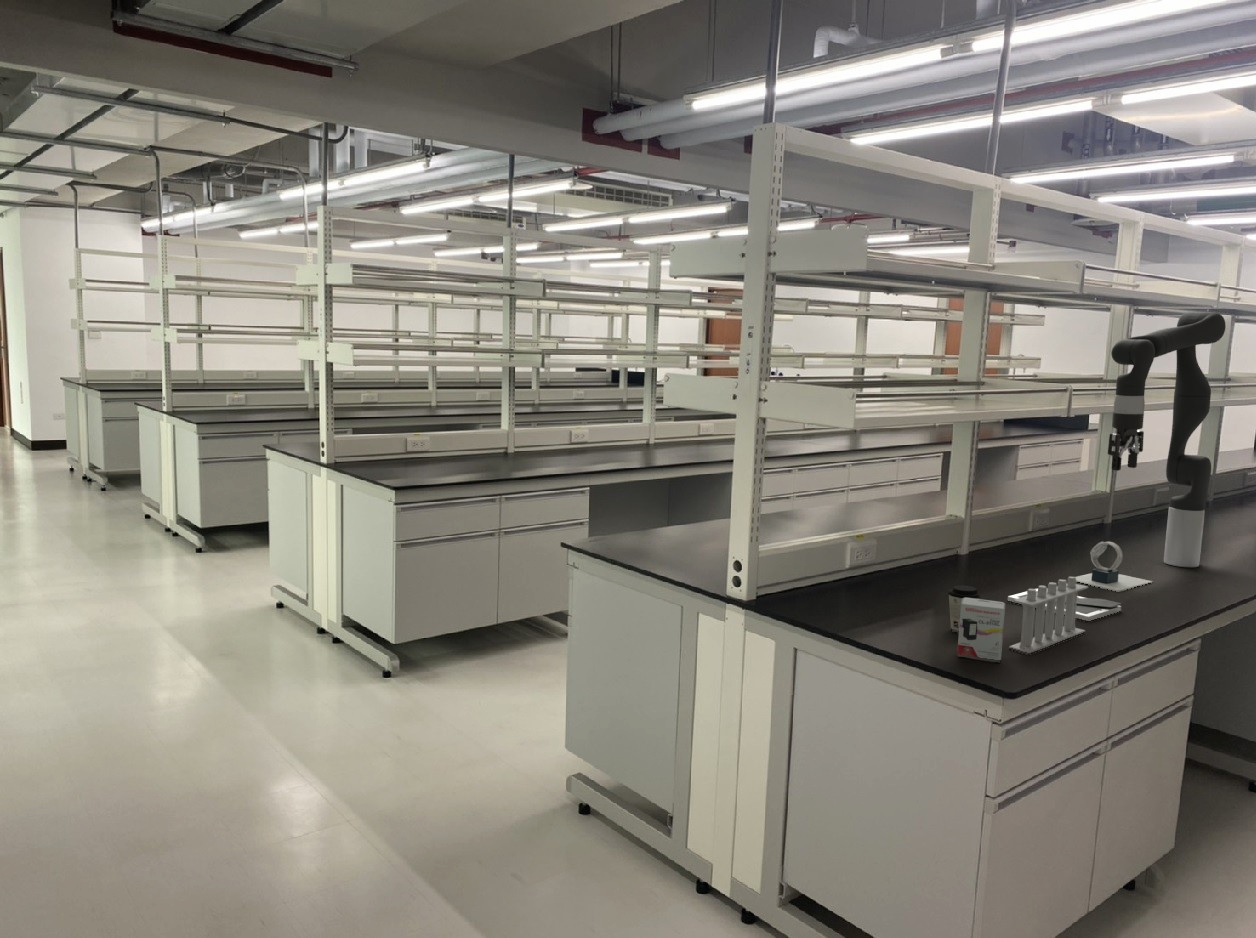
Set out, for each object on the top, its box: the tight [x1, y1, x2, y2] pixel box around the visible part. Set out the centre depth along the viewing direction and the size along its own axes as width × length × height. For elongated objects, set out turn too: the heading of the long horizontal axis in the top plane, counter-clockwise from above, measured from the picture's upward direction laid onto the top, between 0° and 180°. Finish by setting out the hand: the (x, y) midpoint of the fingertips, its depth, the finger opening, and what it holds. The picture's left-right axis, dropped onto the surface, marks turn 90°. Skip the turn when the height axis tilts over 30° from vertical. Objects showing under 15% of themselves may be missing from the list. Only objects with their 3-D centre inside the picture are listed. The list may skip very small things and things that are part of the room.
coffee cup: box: [947, 584, 981, 631], centre depth 204 cm, size 7×7×10 cm
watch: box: [1089, 541, 1124, 584], centre depth 249 cm, size 6×8×11 cm
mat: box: [1075, 572, 1154, 593], centre depth 251 cm, size 18×14×1 cm
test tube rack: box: [1008, 576, 1089, 653], centre depth 198 cm, size 25×4×13 cm, turn 128°
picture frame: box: [1007, 588, 1123, 622], centre depth 226 cm, size 16×3×21 cm
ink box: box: [956, 598, 1006, 661], centre depth 187 cm, size 9×5×12 cm, turn 66°
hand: (1124, 468), depth 254 cm, fingers open, 8 cm apart
